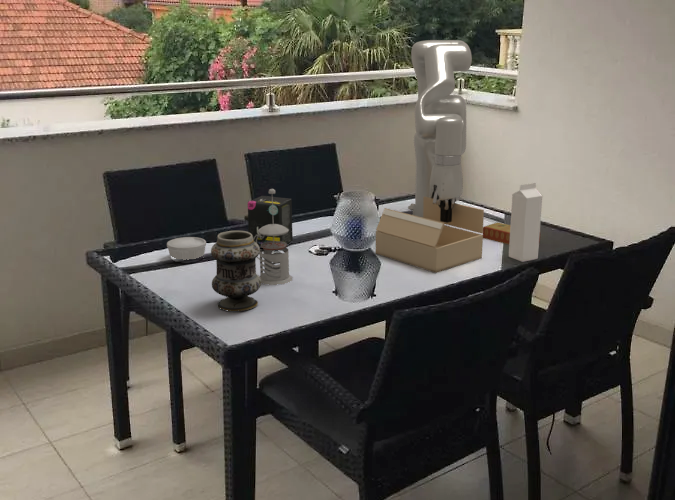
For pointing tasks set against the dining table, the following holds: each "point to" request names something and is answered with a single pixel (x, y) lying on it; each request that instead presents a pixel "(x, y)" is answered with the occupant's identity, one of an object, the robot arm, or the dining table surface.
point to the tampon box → (270, 217)
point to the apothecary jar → (236, 270)
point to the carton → (498, 232)
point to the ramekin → (186, 247)
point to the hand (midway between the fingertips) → (445, 221)
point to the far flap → (456, 215)
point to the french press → (274, 254)
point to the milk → (525, 223)
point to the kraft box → (432, 249)
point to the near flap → (410, 227)
